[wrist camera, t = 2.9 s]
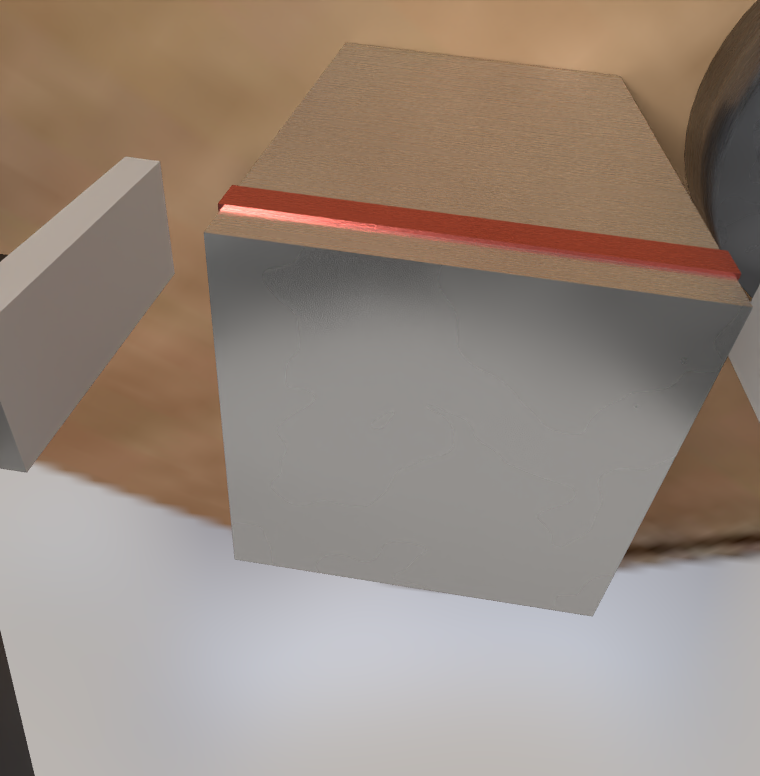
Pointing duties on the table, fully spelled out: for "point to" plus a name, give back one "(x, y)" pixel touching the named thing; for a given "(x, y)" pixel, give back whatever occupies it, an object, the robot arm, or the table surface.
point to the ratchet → (730, 148)
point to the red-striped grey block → (461, 328)
